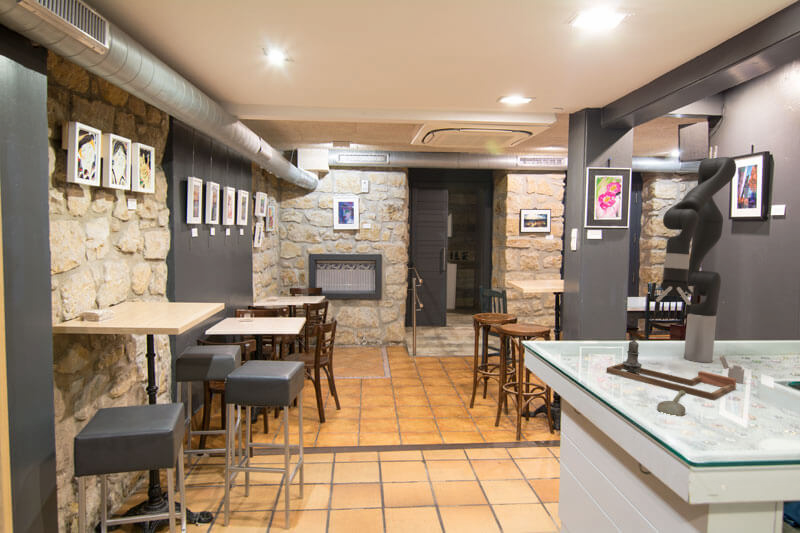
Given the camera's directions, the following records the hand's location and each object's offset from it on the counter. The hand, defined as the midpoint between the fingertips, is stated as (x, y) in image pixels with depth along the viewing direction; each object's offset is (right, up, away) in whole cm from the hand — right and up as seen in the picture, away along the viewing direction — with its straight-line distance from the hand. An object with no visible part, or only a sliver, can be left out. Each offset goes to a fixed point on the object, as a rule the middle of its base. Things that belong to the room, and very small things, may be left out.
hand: (671, 314), depth 175 cm
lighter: (+13, -21, -12) cm, 27 cm away
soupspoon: (-18, -22, -36) cm, 45 cm away
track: (-8, -20, -13) cm, 25 cm away
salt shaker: (-18, -19, -8) cm, 27 cm away
